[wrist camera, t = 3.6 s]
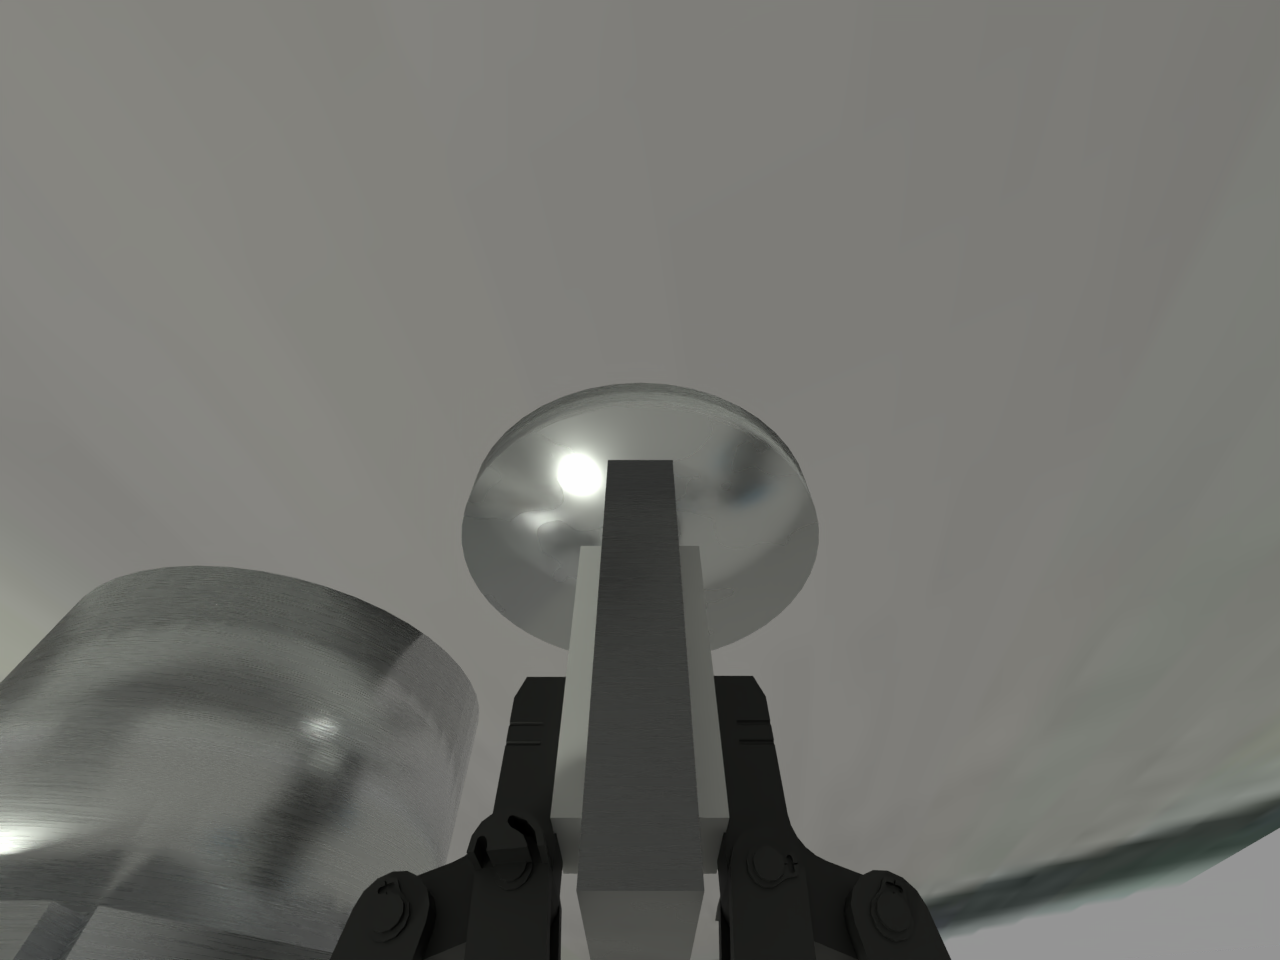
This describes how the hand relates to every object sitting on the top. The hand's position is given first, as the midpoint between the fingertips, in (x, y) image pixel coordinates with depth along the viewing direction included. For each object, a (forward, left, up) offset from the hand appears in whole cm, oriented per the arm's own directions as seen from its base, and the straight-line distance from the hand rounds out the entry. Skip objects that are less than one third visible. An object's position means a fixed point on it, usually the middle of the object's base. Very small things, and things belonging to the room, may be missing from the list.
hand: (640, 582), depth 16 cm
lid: (0, 0, -2) cm, 2 cm away
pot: (+14, +12, -2) cm, 18 cm away
